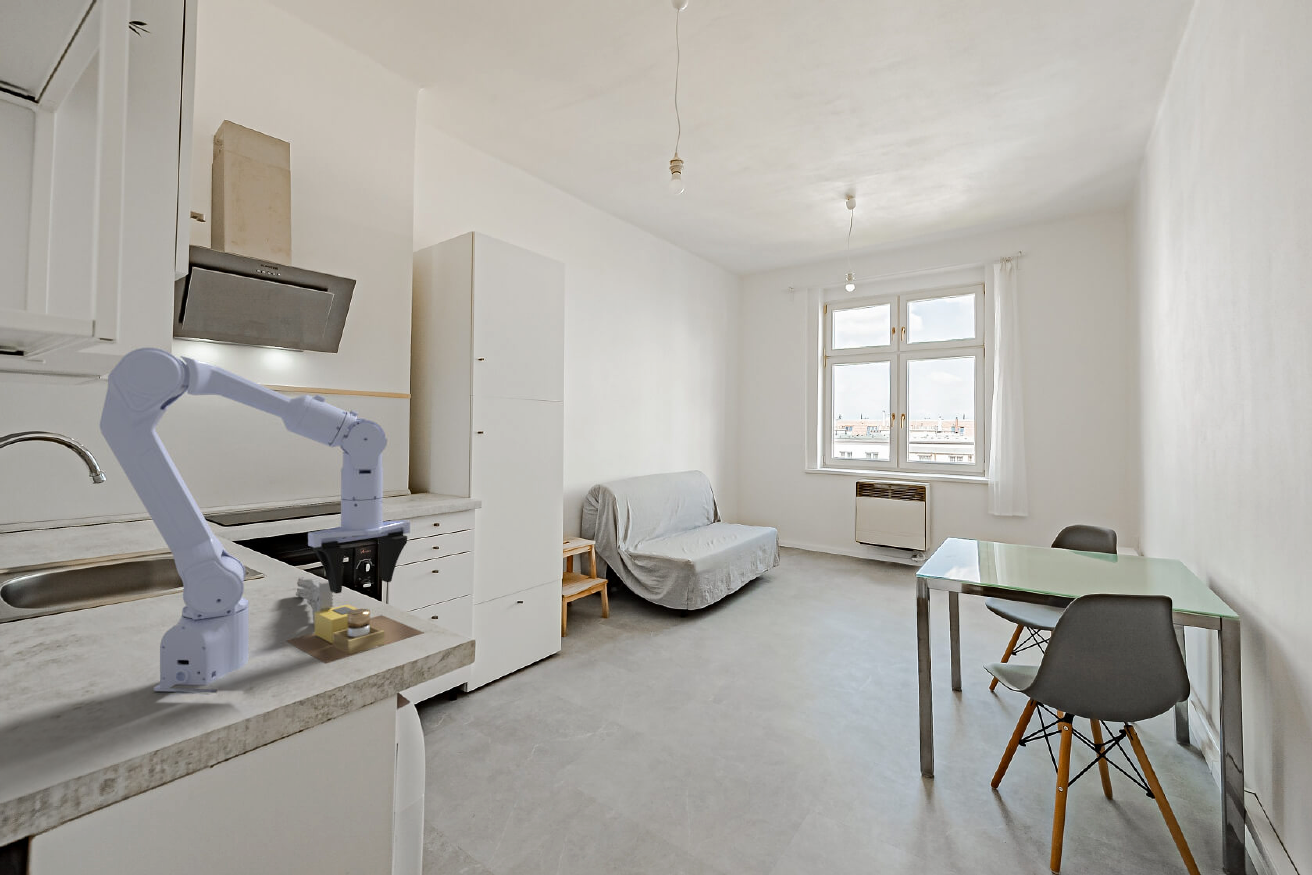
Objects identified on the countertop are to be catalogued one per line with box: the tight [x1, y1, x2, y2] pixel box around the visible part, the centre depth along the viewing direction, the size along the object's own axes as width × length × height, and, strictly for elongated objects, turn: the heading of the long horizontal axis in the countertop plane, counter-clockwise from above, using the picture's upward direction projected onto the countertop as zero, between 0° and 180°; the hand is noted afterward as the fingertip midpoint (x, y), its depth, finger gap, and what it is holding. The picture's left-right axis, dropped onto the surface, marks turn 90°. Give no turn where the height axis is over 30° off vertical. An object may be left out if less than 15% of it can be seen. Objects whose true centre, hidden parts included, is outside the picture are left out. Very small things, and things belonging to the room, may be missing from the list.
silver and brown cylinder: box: [347, 608, 371, 639], centre depth 87 cm, size 3×3×5 cm
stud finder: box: [314, 604, 358, 643], centre depth 90 cm, size 5×6×4 cm
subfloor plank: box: [285, 614, 425, 664], centre depth 90 cm, size 15×13×3 cm
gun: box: [295, 577, 334, 626], centre depth 102 cm, size 2×30×8 cm, turn 38°
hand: (361, 586), depth 88 cm, fingers open, 7 cm apart
